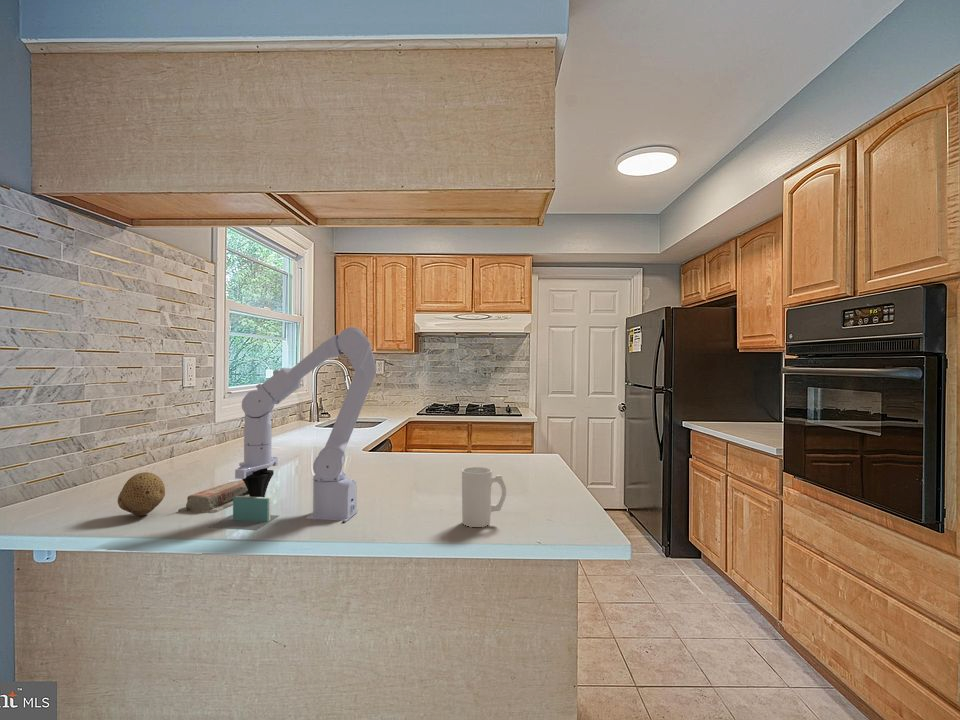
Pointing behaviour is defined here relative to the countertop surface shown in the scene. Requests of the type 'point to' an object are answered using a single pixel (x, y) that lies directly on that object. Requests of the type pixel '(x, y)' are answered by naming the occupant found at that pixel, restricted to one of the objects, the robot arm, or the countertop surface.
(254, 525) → the mat
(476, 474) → the mug
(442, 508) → the countertop surface
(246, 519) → the tile
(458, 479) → the countertop surface
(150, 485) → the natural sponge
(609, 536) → the countertop surface
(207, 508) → the old brick
